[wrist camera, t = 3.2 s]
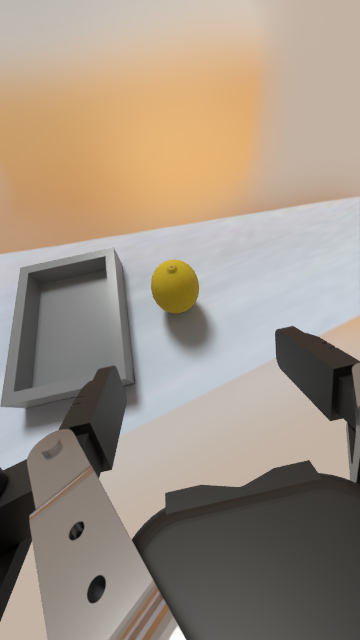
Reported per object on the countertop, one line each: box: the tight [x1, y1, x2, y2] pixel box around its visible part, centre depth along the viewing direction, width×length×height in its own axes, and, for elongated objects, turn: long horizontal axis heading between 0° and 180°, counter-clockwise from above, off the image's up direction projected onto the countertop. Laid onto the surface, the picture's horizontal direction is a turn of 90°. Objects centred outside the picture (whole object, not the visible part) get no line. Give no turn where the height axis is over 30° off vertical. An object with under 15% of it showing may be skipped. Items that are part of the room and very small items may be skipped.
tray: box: [0, 248, 135, 408], centre depth 27 cm, size 13×18×3 cm
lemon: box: [151, 260, 199, 314], centre depth 25 cm, size 6×6×8 cm
